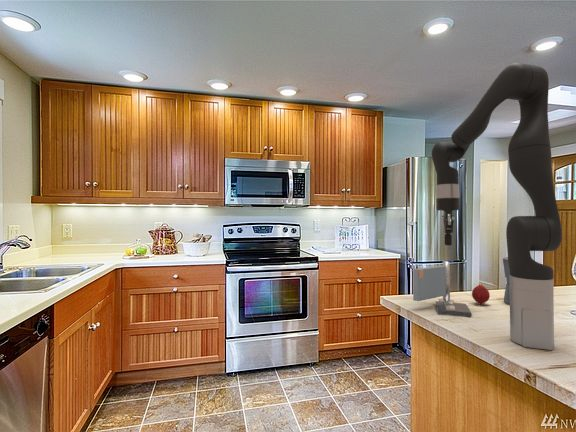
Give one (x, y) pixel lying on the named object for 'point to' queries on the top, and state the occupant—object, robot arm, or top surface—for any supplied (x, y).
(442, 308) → the grey flat base plate
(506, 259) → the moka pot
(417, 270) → the grey standing sign
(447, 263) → the hinge post
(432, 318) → the top surface
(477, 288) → the onion
